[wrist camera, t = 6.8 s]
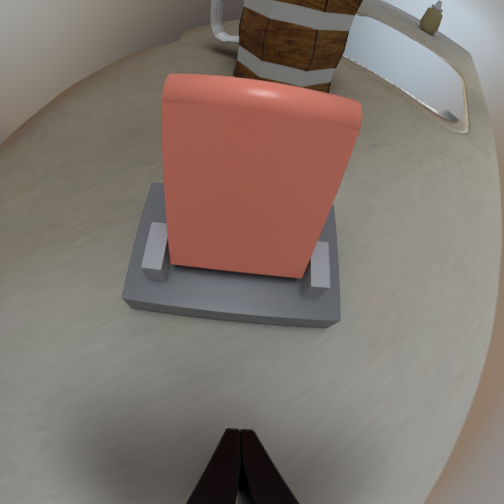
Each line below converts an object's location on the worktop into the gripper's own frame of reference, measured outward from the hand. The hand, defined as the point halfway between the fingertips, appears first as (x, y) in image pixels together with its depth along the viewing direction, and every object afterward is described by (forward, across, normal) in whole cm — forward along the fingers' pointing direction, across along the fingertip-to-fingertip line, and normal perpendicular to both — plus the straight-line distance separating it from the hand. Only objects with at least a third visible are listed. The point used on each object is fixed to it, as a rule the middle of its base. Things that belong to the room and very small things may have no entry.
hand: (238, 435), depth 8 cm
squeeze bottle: (+90, -66, -80) cm, 137 cm away
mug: (+35, -1, -22) cm, 41 cm away
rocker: (+12, 0, -1) cm, 12 cm away
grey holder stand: (+15, 0, 0) cm, 15 cm away
